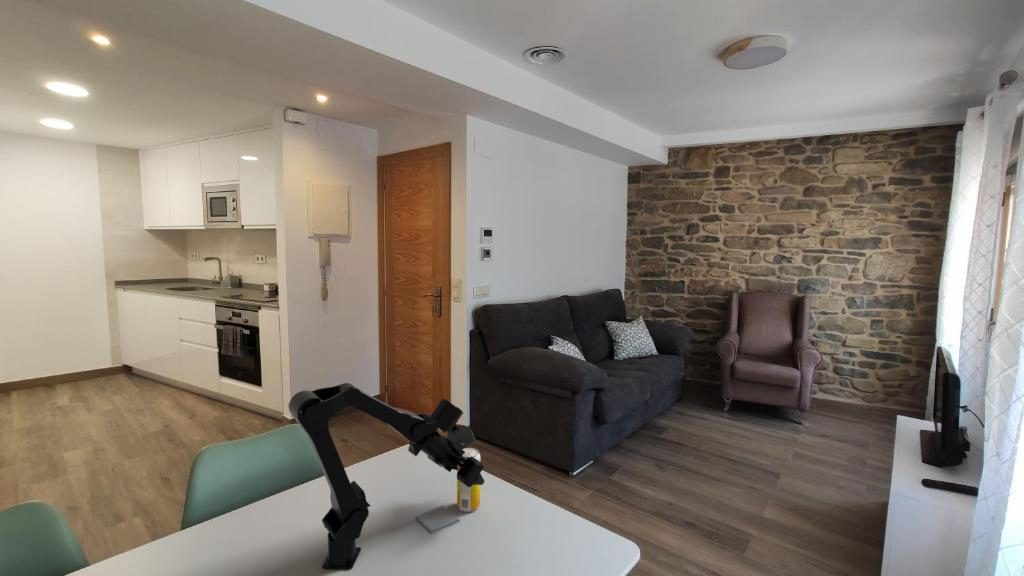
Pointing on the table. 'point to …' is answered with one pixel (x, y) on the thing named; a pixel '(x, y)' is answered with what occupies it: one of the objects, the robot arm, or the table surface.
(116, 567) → the table surface
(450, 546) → the table surface
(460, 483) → the beer can
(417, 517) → the slate mat
